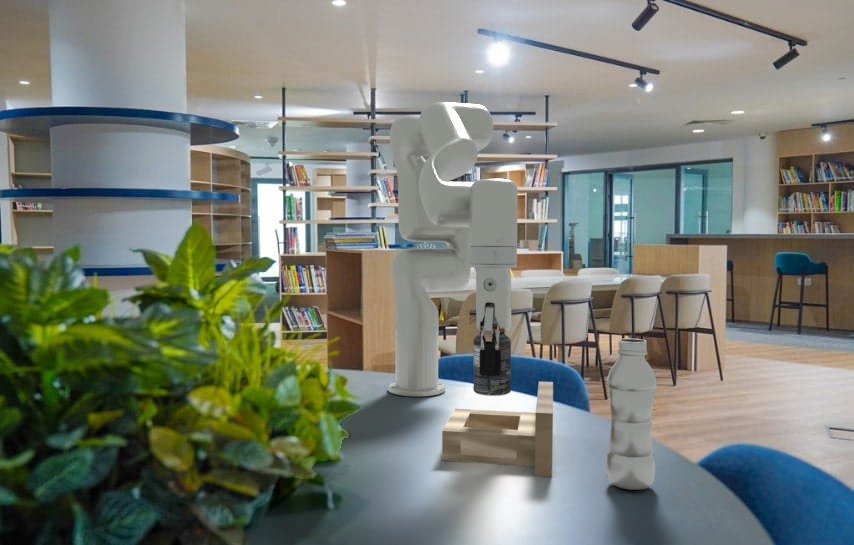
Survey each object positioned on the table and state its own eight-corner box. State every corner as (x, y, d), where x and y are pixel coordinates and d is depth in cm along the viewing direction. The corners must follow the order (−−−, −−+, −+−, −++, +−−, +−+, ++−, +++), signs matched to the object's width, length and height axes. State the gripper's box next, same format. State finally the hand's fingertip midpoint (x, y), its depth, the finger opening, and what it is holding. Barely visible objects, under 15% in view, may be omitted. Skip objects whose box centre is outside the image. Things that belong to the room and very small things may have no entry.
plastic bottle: (663, 486, 92) (666, 340, 91) (641, 499, 87) (644, 345, 86) (619, 475, 97) (622, 335, 96) (596, 487, 92) (598, 340, 91)
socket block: (455, 434, 117) (455, 408, 116) (537, 439, 114) (538, 412, 114) (442, 460, 103) (442, 430, 103) (535, 466, 100) (535, 436, 100)
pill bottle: (510, 389, 111) (511, 320, 110) (511, 397, 105) (511, 324, 104) (473, 388, 111) (474, 319, 111) (472, 396, 105) (473, 323, 105)
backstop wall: (538, 432, 118) (538, 381, 117) (552, 433, 117) (552, 382, 117) (534, 475, 96) (535, 412, 96) (552, 476, 96) (552, 413, 95)
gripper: (513, 259, 98) (512, 383, 99) (519, 257, 115) (518, 363, 116) (462, 259, 99) (461, 381, 100) (475, 257, 116) (474, 361, 117)
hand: (492, 370), depth 108 cm, fingers closed on pill bottle, 6 cm apart
